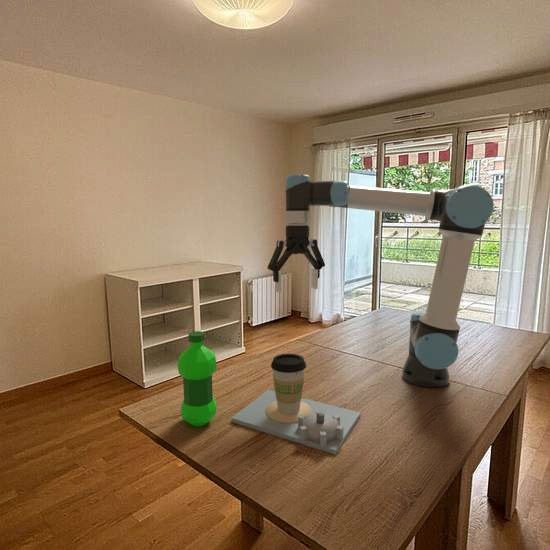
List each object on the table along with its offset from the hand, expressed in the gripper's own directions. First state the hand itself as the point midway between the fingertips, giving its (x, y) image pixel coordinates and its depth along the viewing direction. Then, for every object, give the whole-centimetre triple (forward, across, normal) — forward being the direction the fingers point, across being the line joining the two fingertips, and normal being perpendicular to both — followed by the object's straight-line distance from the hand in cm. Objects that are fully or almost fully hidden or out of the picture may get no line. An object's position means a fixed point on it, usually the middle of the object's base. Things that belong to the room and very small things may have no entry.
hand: (296, 290), depth 127 cm
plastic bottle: (+32, +37, +10) cm, 50 cm away
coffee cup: (+30, +13, +18) cm, 38 cm away
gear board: (+32, +12, +21) cm, 40 cm away
